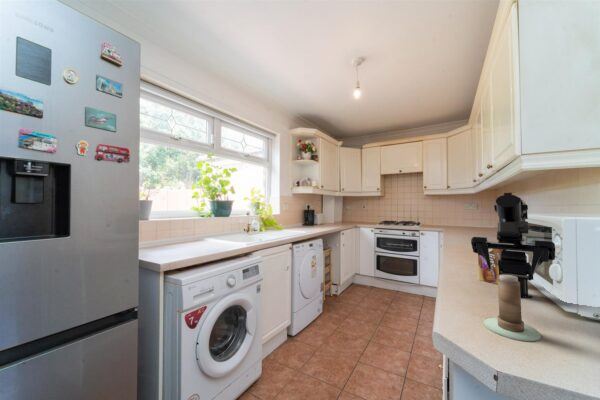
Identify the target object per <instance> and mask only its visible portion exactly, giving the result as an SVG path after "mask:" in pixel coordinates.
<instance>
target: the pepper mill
mask: <svg viewBox="0 0 600 400" xmlns="http://www.w3.org/2000/svg"><path fill="white" fill-rule="evenodd" d="M497 291H498V292H497V294H498V313H499V314H498V315H497V317H496V318H498V326H499V327H501V328H502V329H505V330H507V331H511V332H517V333H521V332H524V324H525V322H524V321H523V320H522V318H523V317H522V300H521V299H522V297H521V294H520V282H519V281H518V277H516V276H512V275H500V279H498V284H497Z"/></svg>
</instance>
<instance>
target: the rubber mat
mask: <svg viewBox="0 0 600 400" xmlns="http://www.w3.org/2000/svg"><path fill="white" fill-rule="evenodd" d="M483 324H484V326H485V328H486V329H487V330H489V331H490V332H493V333H494V334H495V335H496V334H497V335H499V336H501V337H505V338H508V339H511V340H515V341H521V342H537V341H540V340H541V338H542V337H541V335H542V334H541V333H540V331H538V330H537V329H535V328H534V327H533V326H530V325H528V324H526V323H524V332H521V333H517V332H511V331H507V330H505V329H502V328H501V327H499V326H498V318H497V317H489V318H486V319H484V321H483Z"/></svg>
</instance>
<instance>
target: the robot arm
mask: <svg viewBox="0 0 600 400" xmlns="http://www.w3.org/2000/svg"><path fill="white" fill-rule="evenodd" d="M493 205H494V207H493V208H494V212H495V213H496V214H497V216H498V222H497V231H496V240H497V241H488V237H485V236H483V237H482V236H472V237H471V239H470V244H471V248H472V252H473V253H475V254H477V256H478V255H481V256H482V257H483V258H484V260H485V261H486V264H487V266H488V269H491V264H490V256H489V248H491V249H501V250H502V251H501V260H500V259H498V268H499V276H500V275H512V276H516V277H518V281H519V282H520V294H521V298H533V295H532V294H530V293H529V287H528V286H529V284H528V283H529V281H534V275H535V273H536V272H537V270H538V268H539V267H540V266H541V265H542V264H543V263H545V262H546V263H547V262H549V261H554V260H556V243H555V242H554V241H552V240H543V239H542V240H538V239H534V244H523V243H524V242H523V240H524V239H523V234H524V235H525V234H526V235H528V234H529V221H526V220H528V219H529V218H528V217H529V216H528V210H529V205H528V204H526V202H523V200H522V198H521V197H519V196H517V195H515V194H513V192H504V193H503V194H502V195H500V196H498V197H497V198H496V199H495V204H493ZM527 253H531V254H532V259H531V263H530V261H529V262H528V260H527V259H528V257H527V255H526V254H527Z"/></svg>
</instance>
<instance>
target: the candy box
mask: <svg viewBox="0 0 600 400" xmlns="http://www.w3.org/2000/svg"><path fill="white" fill-rule="evenodd" d="M501 251H502V250H501V249H491V248H489V256H490V264H491V269H488V266H487V264H486V261H485V260H484V258H483V257H482V256H481V255H478V254H477V260H478V280H479V281H480V282H481V281H482V282H486V283H491V284H493V285H494V284H496V285H498V279H500V276H499V268H498V259H500V260H501Z"/></svg>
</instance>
